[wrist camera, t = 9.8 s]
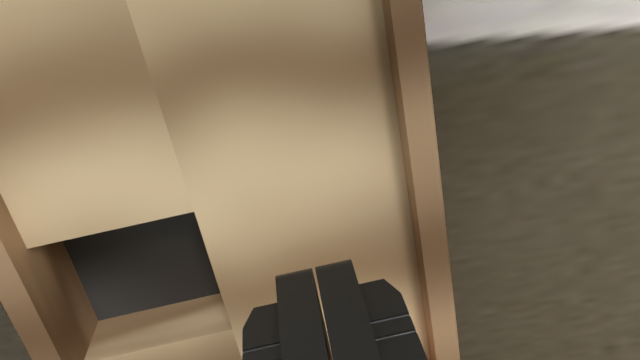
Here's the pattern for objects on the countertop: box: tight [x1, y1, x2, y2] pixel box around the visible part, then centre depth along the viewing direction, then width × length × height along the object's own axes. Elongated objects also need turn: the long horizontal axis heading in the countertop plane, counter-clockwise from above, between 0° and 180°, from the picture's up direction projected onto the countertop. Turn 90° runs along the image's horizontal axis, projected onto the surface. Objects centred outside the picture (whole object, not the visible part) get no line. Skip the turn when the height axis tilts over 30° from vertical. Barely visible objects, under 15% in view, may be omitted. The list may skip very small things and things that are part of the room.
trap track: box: [0, 0, 460, 360], centre depth 18 cm, size 25×13×6 cm, turn 11°
